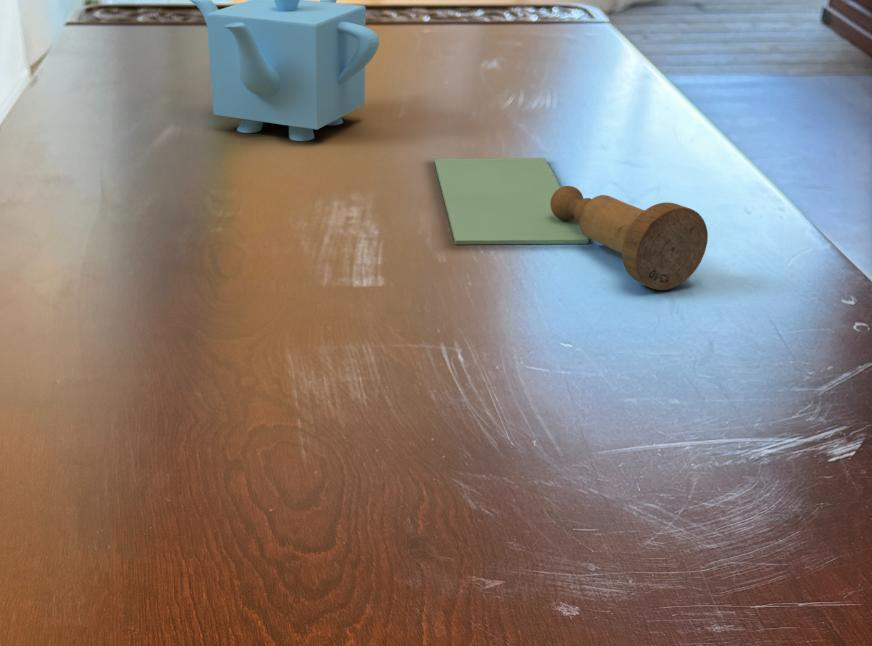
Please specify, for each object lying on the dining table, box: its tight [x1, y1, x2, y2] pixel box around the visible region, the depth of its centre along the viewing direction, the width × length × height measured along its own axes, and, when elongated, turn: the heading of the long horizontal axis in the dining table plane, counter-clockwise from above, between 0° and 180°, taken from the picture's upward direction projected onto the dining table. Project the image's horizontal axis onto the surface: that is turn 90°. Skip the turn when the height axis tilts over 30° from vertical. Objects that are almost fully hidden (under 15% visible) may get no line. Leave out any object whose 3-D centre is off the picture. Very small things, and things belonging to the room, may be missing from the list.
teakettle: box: [189, 0, 380, 142], centre depth 120 cm, size 19×19×15 cm
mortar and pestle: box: [550, 185, 709, 291], centre depth 90 cm, size 7×6×18 cm
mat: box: [433, 157, 590, 246], centre depth 103 cm, size 12×24×1 cm, turn 0°
